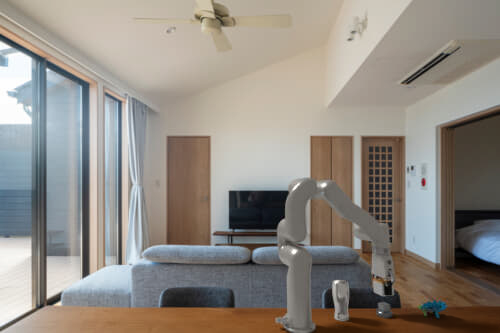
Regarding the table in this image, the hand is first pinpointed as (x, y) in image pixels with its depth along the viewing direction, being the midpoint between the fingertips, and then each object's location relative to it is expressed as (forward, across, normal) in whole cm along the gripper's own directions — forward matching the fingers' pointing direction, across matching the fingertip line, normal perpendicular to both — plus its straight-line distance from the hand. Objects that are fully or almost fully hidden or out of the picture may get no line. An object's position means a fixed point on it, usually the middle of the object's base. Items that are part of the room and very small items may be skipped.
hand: (383, 292), depth 127 cm
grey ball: (+10, 0, 0) cm, 10 cm away
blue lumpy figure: (+10, -5, -20) cm, 23 cm away
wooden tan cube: (+1, 0, 0) cm, 1 cm away
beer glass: (+10, +2, +20) cm, 22 cm away
